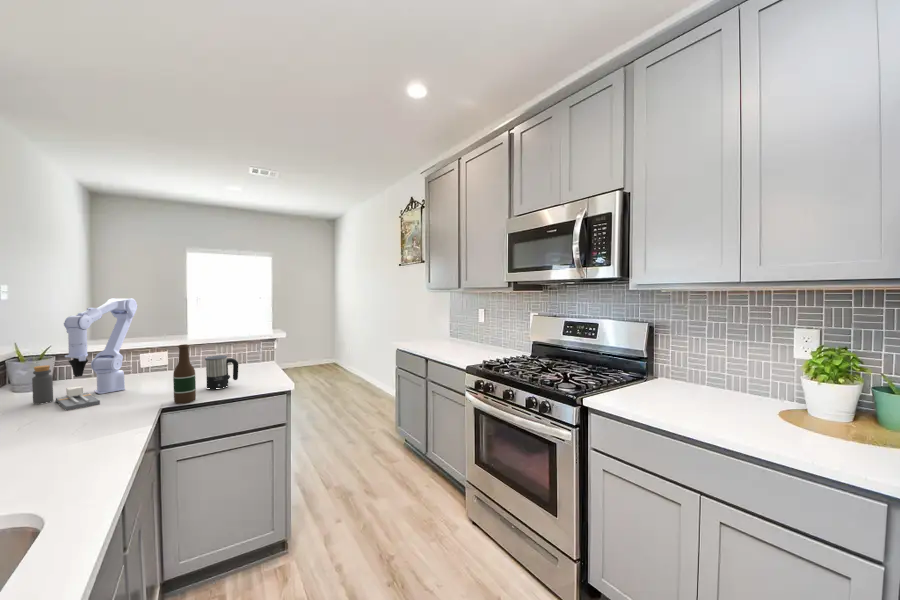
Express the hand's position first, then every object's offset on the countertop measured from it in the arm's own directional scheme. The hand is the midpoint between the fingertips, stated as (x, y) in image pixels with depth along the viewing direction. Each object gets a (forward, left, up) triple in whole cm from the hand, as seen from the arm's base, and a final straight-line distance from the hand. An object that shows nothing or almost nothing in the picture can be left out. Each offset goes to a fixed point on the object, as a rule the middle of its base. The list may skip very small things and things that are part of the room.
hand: (78, 376), depth 165 cm
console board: (+1, +3, -10) cm, 11 cm away
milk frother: (-46, +20, -11) cm, 52 cm away
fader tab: (+1, -1, -9) cm, 9 cm away
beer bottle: (-26, +36, -11) cm, 46 cm away
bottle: (+9, -9, -11) cm, 17 cm away
